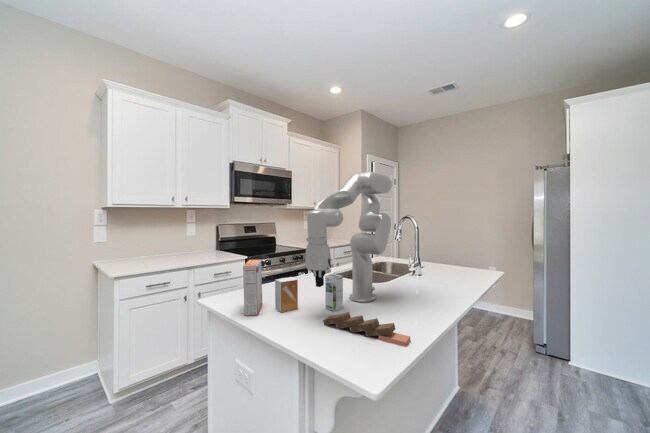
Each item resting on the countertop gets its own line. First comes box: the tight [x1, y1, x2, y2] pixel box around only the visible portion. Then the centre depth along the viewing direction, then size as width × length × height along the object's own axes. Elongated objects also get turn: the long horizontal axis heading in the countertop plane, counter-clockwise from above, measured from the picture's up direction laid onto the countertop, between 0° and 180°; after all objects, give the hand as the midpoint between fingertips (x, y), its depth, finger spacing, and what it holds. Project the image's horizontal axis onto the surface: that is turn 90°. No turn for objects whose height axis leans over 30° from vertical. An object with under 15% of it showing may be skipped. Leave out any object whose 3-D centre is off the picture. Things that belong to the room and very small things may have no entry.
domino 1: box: [322, 311, 351, 326], centre depth 107 cm, size 2×5×9 cm
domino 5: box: [378, 331, 411, 347], centre depth 95 cm, size 2×5×9 cm
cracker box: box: [242, 259, 263, 317], centre depth 124 cm, size 14×6×21 cm, turn 5°
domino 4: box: [364, 322, 396, 337], centre depth 98 cm, size 2×5×9 cm
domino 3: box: [349, 318, 380, 334], centre depth 101 cm, size 2×5×9 cm
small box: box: [274, 276, 299, 313], centre depth 126 cm, size 8×6×13 cm
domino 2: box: [334, 314, 365, 330], centre depth 104 cm, size 2×5×9 cm
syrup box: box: [324, 273, 344, 312], centre depth 126 cm, size 6×6×14 cm
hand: (319, 285), depth 117 cm, fingers closed
